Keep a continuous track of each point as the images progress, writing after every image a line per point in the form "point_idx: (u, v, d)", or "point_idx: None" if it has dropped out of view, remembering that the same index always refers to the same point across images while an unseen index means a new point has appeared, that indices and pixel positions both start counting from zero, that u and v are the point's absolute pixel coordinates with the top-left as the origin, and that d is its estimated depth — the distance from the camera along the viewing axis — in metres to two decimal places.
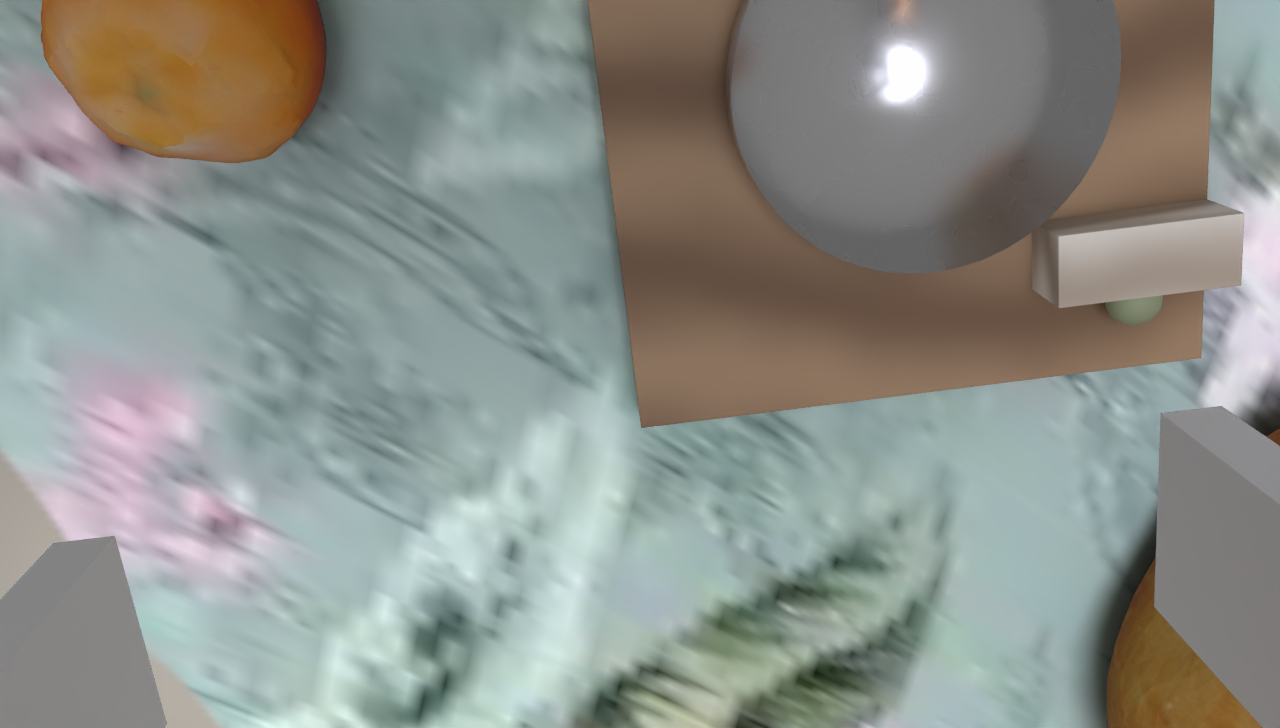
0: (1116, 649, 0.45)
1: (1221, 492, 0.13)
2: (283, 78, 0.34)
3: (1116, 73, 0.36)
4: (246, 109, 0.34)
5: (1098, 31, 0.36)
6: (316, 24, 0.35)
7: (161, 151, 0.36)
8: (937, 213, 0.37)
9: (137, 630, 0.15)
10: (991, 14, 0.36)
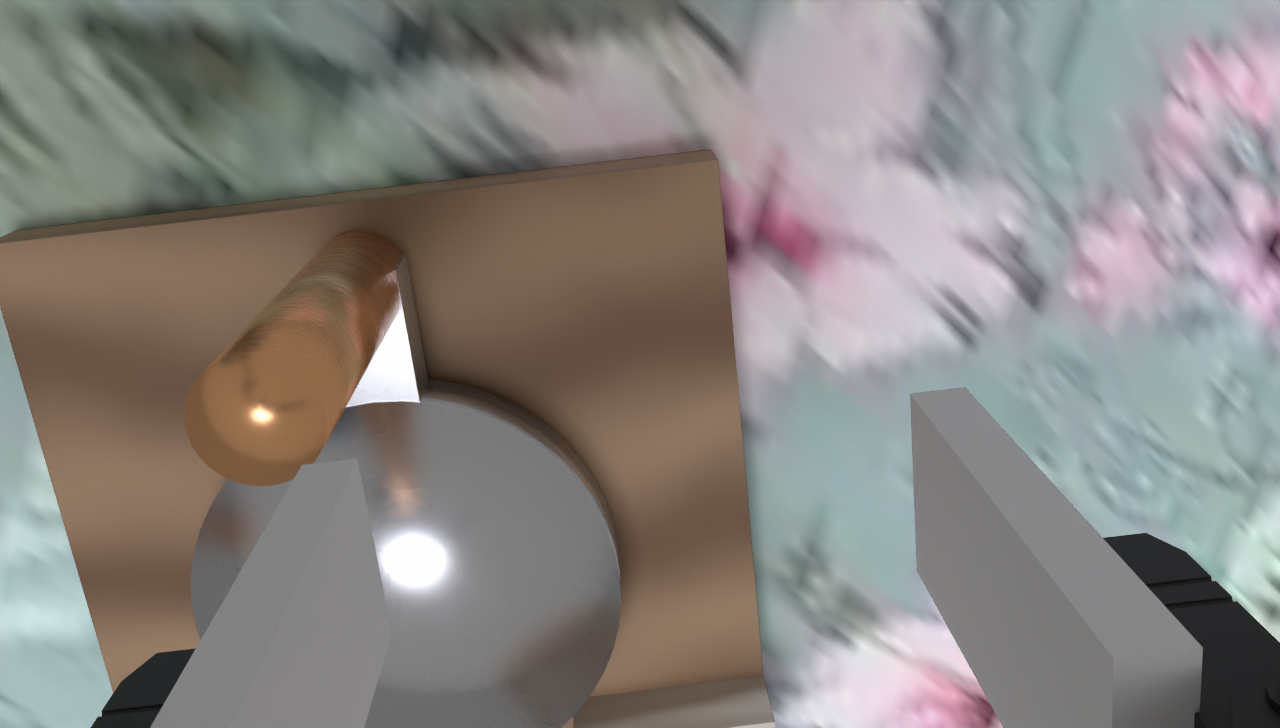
0: None
1: (942, 463, 0.15)
2: None
3: (616, 591, 0.33)
4: None
5: (590, 552, 0.33)
6: None
7: None
8: (438, 724, 0.35)
9: (373, 545, 0.16)
10: (469, 537, 0.33)
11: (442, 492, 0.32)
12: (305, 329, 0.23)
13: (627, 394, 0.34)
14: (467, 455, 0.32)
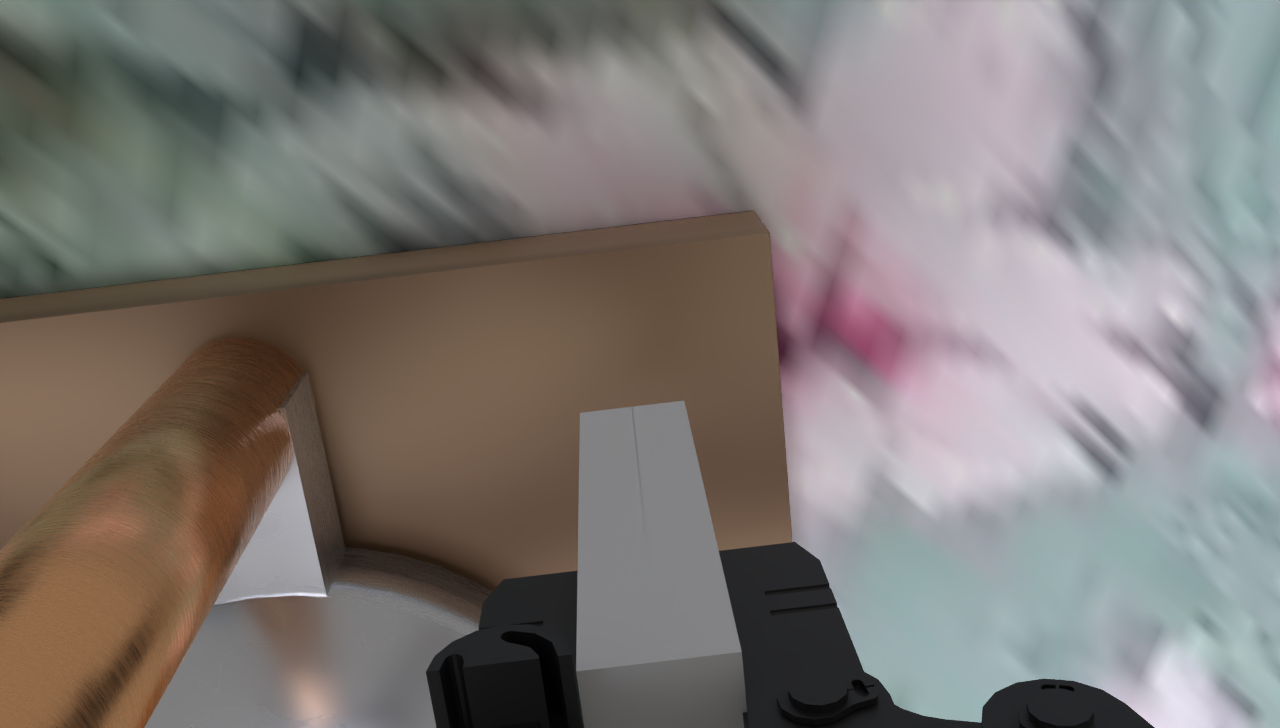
0: None
1: None
2: None
3: None
4: None
5: None
6: None
7: None
8: None
9: None
10: None
11: (363, 722, 0.22)
12: (67, 594, 0.13)
13: None
14: (399, 670, 0.22)
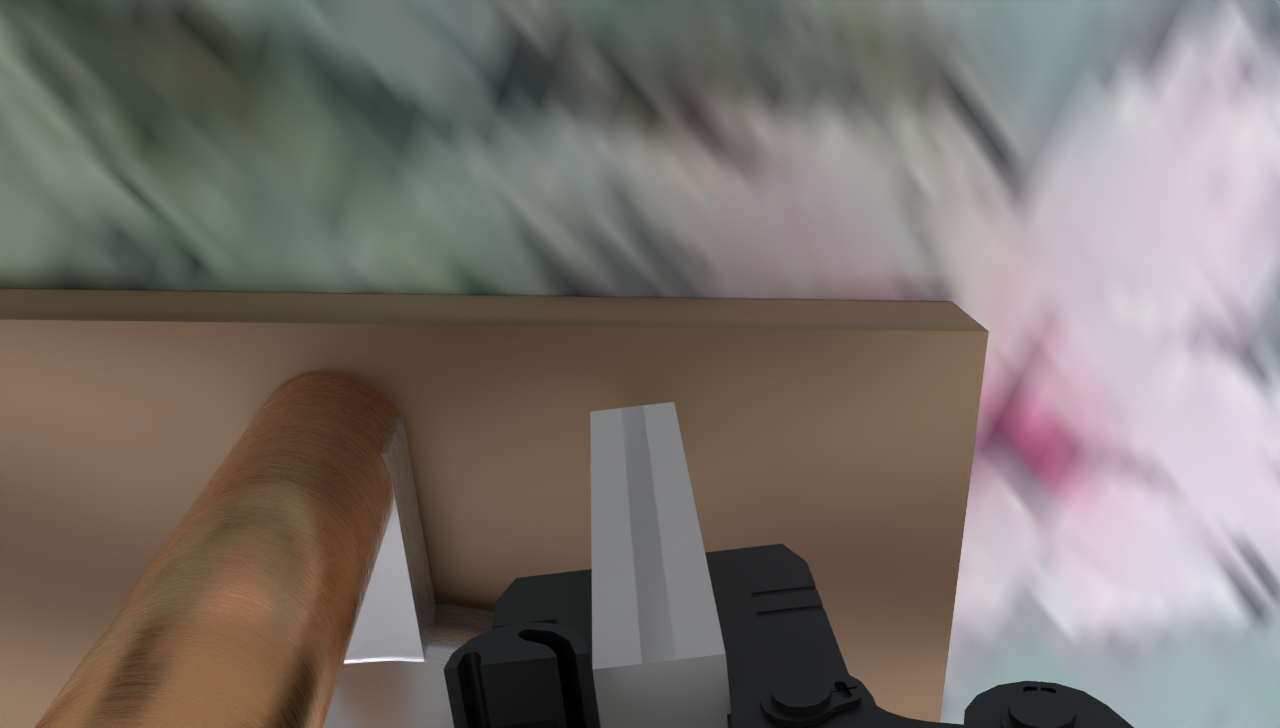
0: None
1: None
2: None
3: None
4: None
5: None
6: None
7: None
8: None
9: None
10: None
11: None
12: (204, 688, 0.11)
13: None
14: None
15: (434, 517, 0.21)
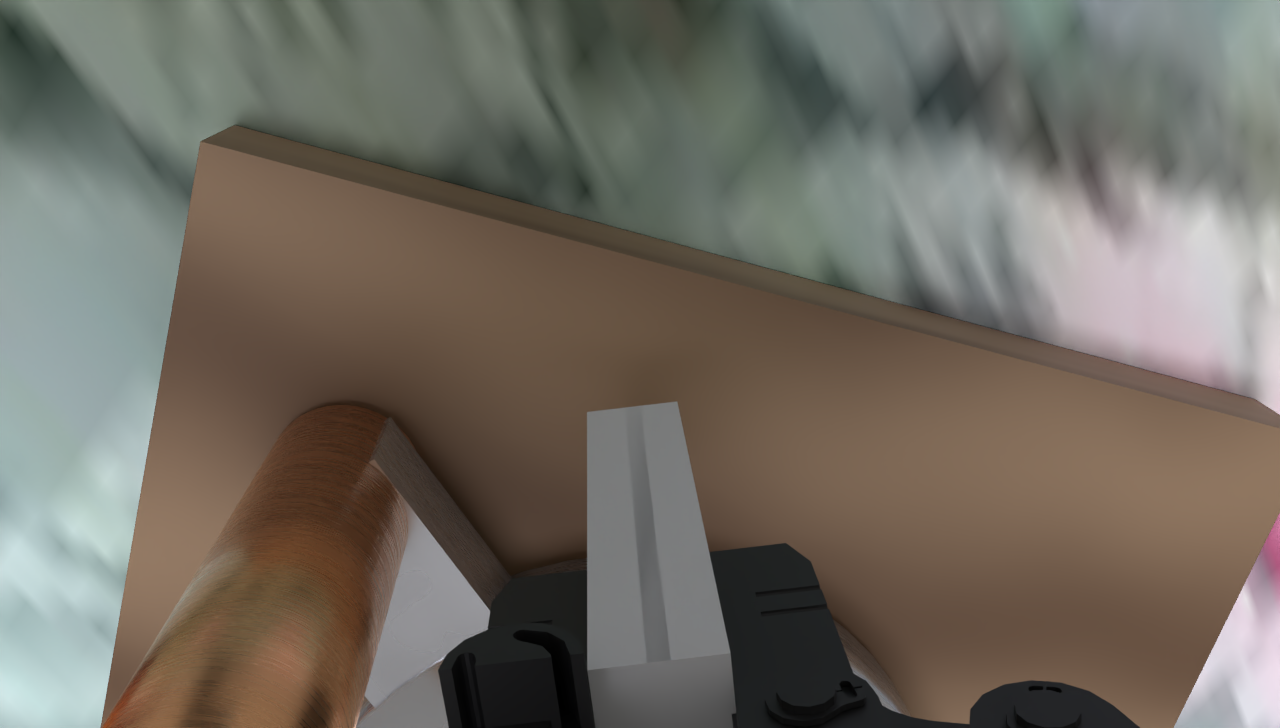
0: None
1: None
2: None
3: None
4: None
5: None
6: None
7: None
8: None
9: None
10: None
11: None
12: None
13: None
14: None
15: (763, 489, 0.21)
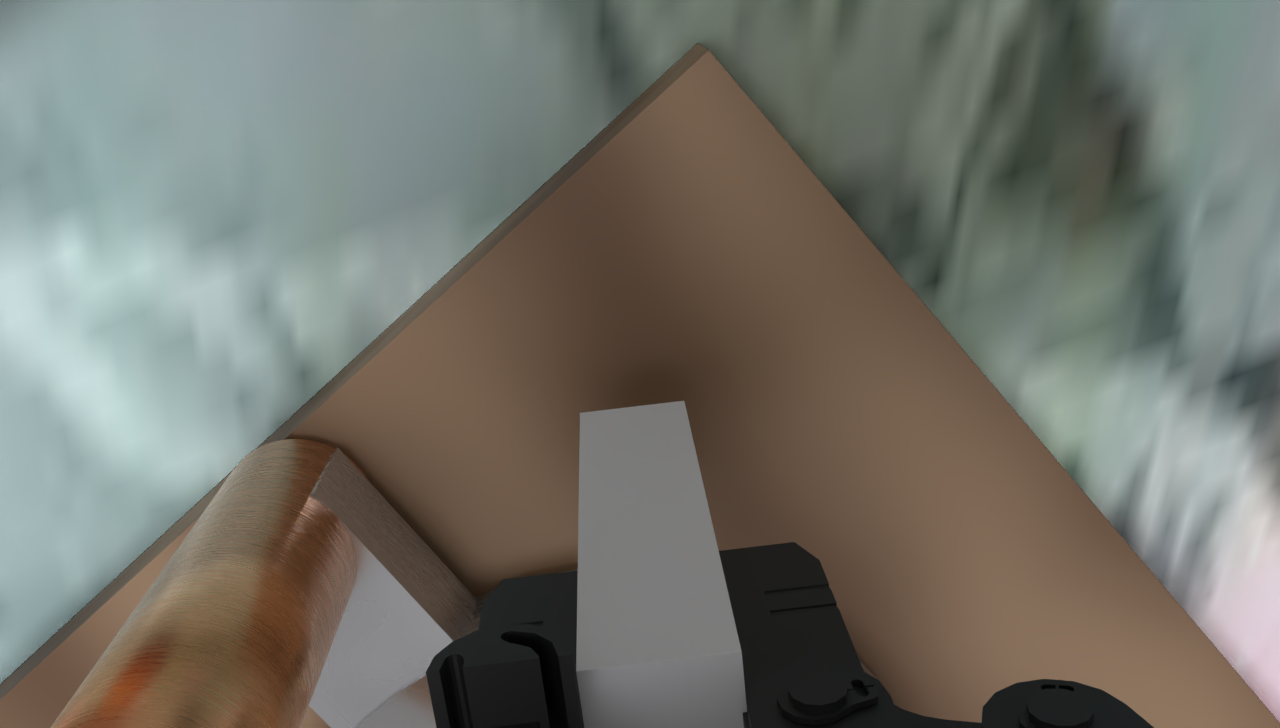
0: None
1: None
2: None
3: None
4: None
5: None
6: None
7: None
8: None
9: None
10: None
11: None
12: None
13: None
14: None
15: (936, 619, 0.22)
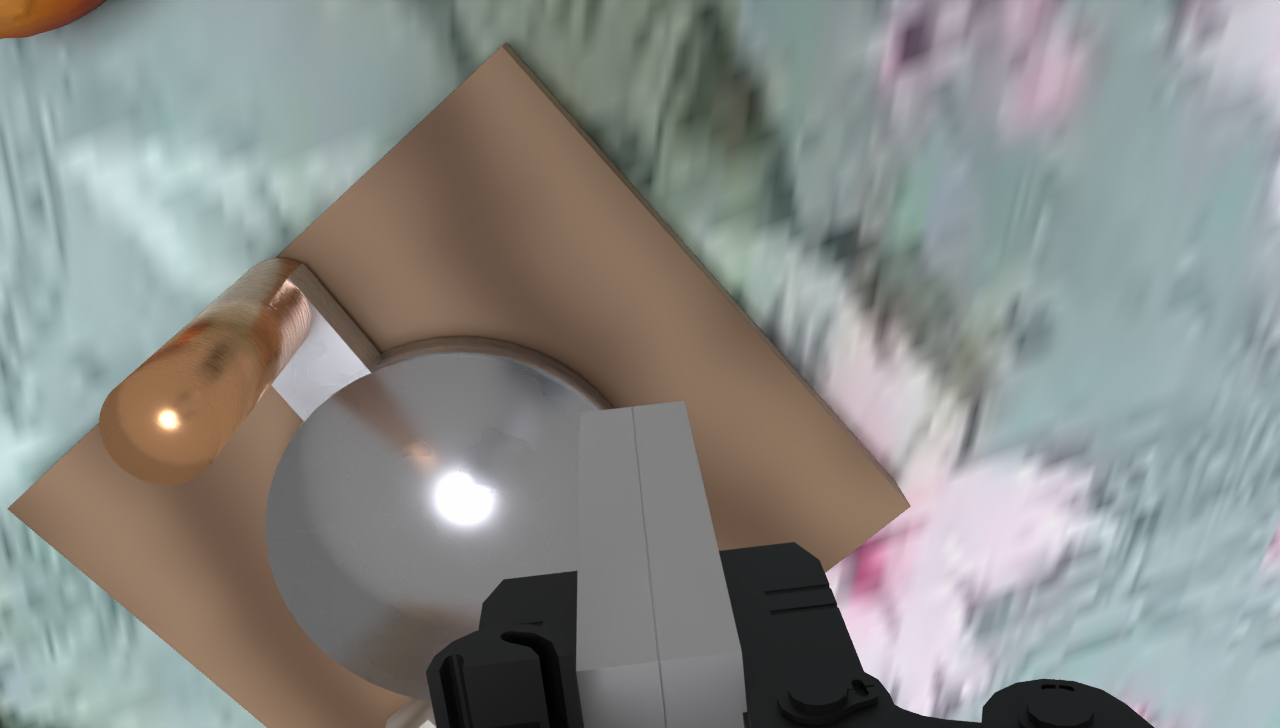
0: None
1: None
2: (7, 9, 0.30)
3: None
4: None
5: (578, 422, 0.36)
6: None
7: None
8: None
9: None
10: (475, 460, 0.36)
11: (431, 435, 0.36)
12: (178, 346, 0.27)
13: None
14: (432, 395, 0.35)
15: (647, 374, 0.38)
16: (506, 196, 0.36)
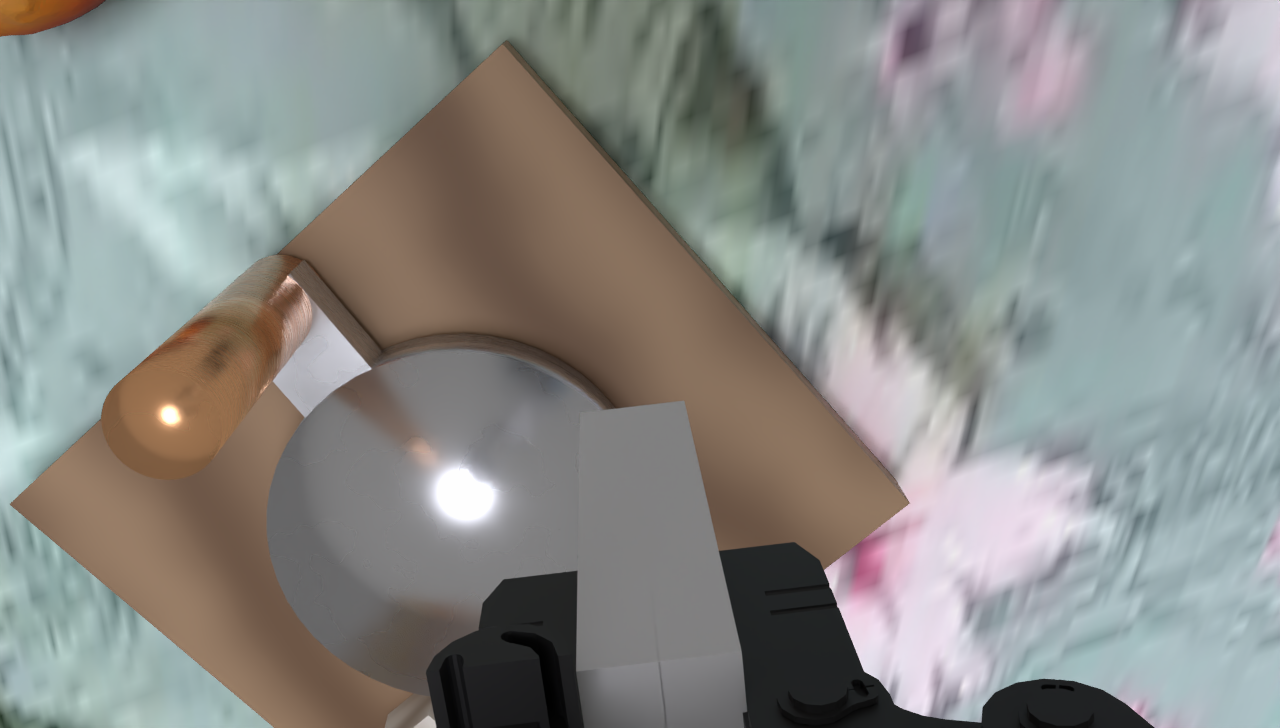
0: None
1: None
2: (10, 6, 0.30)
3: None
4: None
5: (578, 419, 0.36)
6: None
7: None
8: None
9: None
10: (475, 457, 0.36)
11: (432, 431, 0.36)
12: (180, 342, 0.28)
13: None
14: (432, 391, 0.36)
15: (647, 371, 0.38)
16: (507, 193, 0.36)
